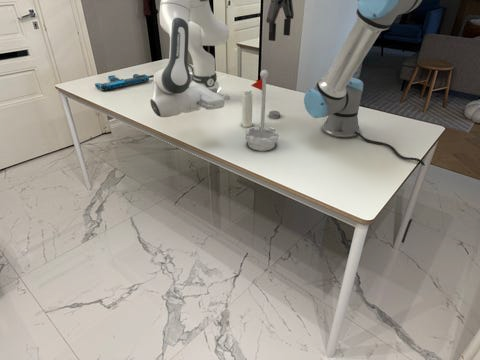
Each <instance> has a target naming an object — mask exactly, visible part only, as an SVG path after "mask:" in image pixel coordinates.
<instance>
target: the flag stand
mask: <svg viewBox="0 0 480 360" xmlns="http://www.w3.org/2000/svg"><path fill="white" fill-rule="evenodd" d="M259 75H260V79H259V80H257V81H256V82H253V84H251V85H250V86H251V87H253V88H256V89H258V90H260V91H261V95H260V97H261V98H260V99H261V100H260V125H258V128H255V127H254V126H250V127H248V130H246V131H245V140H246V141H247V145H248V147H249V148H250V149H252V150H254V151H259V152H260V151H261V152H263V151H264V152H265V151H270V150H272V149H274V148H275V147H276V143H277V142H278V140H279V131H278V130H276V128H274V127H272V126H270V127H268V128H266V127H265V121H266V119H265V118H266V95H267V94H266V93H267V92H266V91H267V78H268V77H269V71H268V70H266V69H262V70H261V71H260V74H259Z"/></svg>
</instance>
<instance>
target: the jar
mask: <svg viewBox="0 0 480 360" xmlns="http://www.w3.org/2000/svg"><path fill="white" fill-rule="evenodd" d="M253 95H254V94H253V93H252V89H251V88H245V89H243V90H242V94H241V98H242V99H241V101H242V102H241V106H242V107H241V126H242V127H244V128H251V127H253Z"/></svg>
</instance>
